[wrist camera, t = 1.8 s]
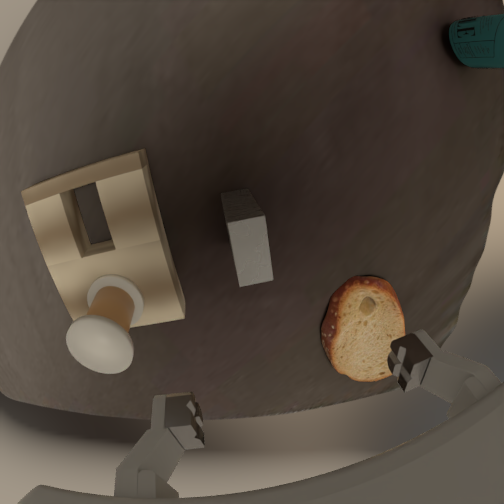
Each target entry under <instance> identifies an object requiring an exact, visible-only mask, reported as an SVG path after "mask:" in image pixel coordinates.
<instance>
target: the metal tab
mask: <svg viewBox="0 0 504 504" xmlns="http://www.w3.org/2000/svg"><path fill="white" fill-rule="evenodd" d="M220 195H221V200H222V205H223V211H224V216H225V222H226V227H227V232H228V237H229V243H230V247H231V251H232V256H233V260H234V264H235V269H236V273H237V277H238V282H239V286H240V287H242V286H247V285H252V284H257V283H261V282H266V281H271V280H273V273H272V265H271V258H270V250H269V242H268V235H267V227H266V220H265V215H264V213H263V212H262V210H261V209H260V207H259V206H258V204H257V202H256V201H255V199H254V198H253V196H252V195H251V193H250V191H249V190H248V188H246V189H240V190H235V191H230V192H224V193H220Z"/></svg>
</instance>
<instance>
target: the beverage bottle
mask: <svg viewBox="0 0 504 504" xmlns="http://www.w3.org/2000/svg"><path fill="white" fill-rule="evenodd" d="M474 17H476V16H474ZM462 19H463V20H462ZM462 19H461V20H458V21H456V20H455V21H454V23H452V24H451V26H450V28H449V39H450V43H451V46H452V49H453V51H454V53H455V54H456V56H457V57H458V59H459V60H460V61H461V62H462V63H463V64H465V65H467V66H469V67H473V69H474V68H477V69H479V68H483V69H484V68H485V69H486V68H502V69H504V14H500V15H491V16H482V17H476V18H471V17H468V19H466V18H462Z"/></svg>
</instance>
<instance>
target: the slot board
mask: <svg viewBox="0 0 504 504" xmlns="http://www.w3.org/2000/svg"><path fill="white" fill-rule="evenodd" d="M93 182H96V186H97V189H98V193H99V197H100V200H101V204H102V207H103V211H104V214H105V217H106V221H107V224H108V227H109V230H110V233H111V236H112V240H108V241H104V242H100V243H96V244H91V243H90V240H89V237H88V234H87V231H86V228H85V225H84V222H83V219H82V216H81V213H80V210H79V206H78V203H77V199H76V196H75V192H74V188H77V187H80V186H83V185H87V184H90V183H93ZM21 193H22V196H23V200H24V203H25V206H26V210H27V213H28V216H29V219H30V222H31V225H32V228H33V231H34V233H35V236H36V239H37V241H38V244H39V247H40V249H41V252H42V254H43V257H44V259H45V262H46V264H47V267H48V269H49V271H50V274H51V276H52V278H53V280H54V283H55V285H56V287H57V289H58V291H59V293H60V295H61V297H62V299H63V302H64V304H65V306H66V308H67V310H68V311H69V313H70V315H71V317H72V319H73V321H74V320H75V319H77V318H78V317H81V316H84V315H86V314H87V312H88V310H89V306H88V302H87V294H88V291H89V289H90V287H91V285H92V283H93V282H94V281H95V280H96V279H97V278H98V277H100V276H102V275H106V274H117V275H121V276H124V277H126V278H128V279H130V280H131V281H132V282H134V283H135V284H136V285H137V286H138V288H139V289H140V291H141V293H142V295H143V298H144V308H143V312H142V315H141V317H140V319H139V320H138V321H137V322H136V323H135V324H133V325H131V326H130V327H137V326H143V325H149V324H155V323H161V322H167V321H173V320H179V319H184V318H185V302H186V301H185V298H184V295H183V292H182V288H181V285H180V282H179V278H178V275H177V272H176V268H175V265H174V262H173V258H172V255H171V251H170V248H169V244H168V240H167V237H166V233H165V229H164V225H163V222H162V218H161V214H160V210H159V206H158V202H157V198H156V194H155V190H154V185H153V181H152V177H151V172H150V168H149V163H148V159H147V154H146V149H145V148H144V149H140V150H136V151H133V152H129V153H125V154H122V155H118V156H115V157H112V158H108V159H105V160H102V161H98V162H95V163H92V164H89V165H86V166H83V167H80V168H77V169H74V170H71V171H68V172H66V173H63V174H60V175H57V176H55V177H52V178H49V179H47V180H44V181H42V182H39V183H37V184H35V185H33V186H31V187H29V188H27V189H25V190H23V191H21Z"/></svg>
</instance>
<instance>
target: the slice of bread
mask: <svg viewBox="0 0 504 504" xmlns="http://www.w3.org/2000/svg"><path fill="white" fill-rule="evenodd" d="M403 336H405V325H404V317H403V313H402V309H401V306H400V302H399V300H398V298H397V295H396V293H395V291H394V289H393V288H392V286H391V285H390V284H389V282H387V281H386V280H383V279H381V278H378V277H373V276H364V277H363V276H354V277H352V278H350V279H348V280H347V281H346V282H345V283H344V284H343V285H342V286H341V287H339V288H338V289H337V290H336V291H335V292H334V293H333V295H332V296H331V298H330V302H329V307H328V310H327V313H326V316H325V319H324V321H323V323H322V327H321V341H322V344H323V348H324V350H325V352H326V355H327V357H328V359H329V361H330V362H331V364H332V366H333V367H334V368H335V370H336V371H337V372H339V373H341V374H346V375H348V376H349V377H350V378H351V379H353V380H356V381H367V382H371V381H376V380H380V379H383V378H386V377H388V376H390V375H392V373H391V371H390V370H389V367H388V362H387V358H388V354H389V353H390V352H391V348H390V344H391V342H392V341H393V340H395V339H398V338H400V337H403Z"/></svg>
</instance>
